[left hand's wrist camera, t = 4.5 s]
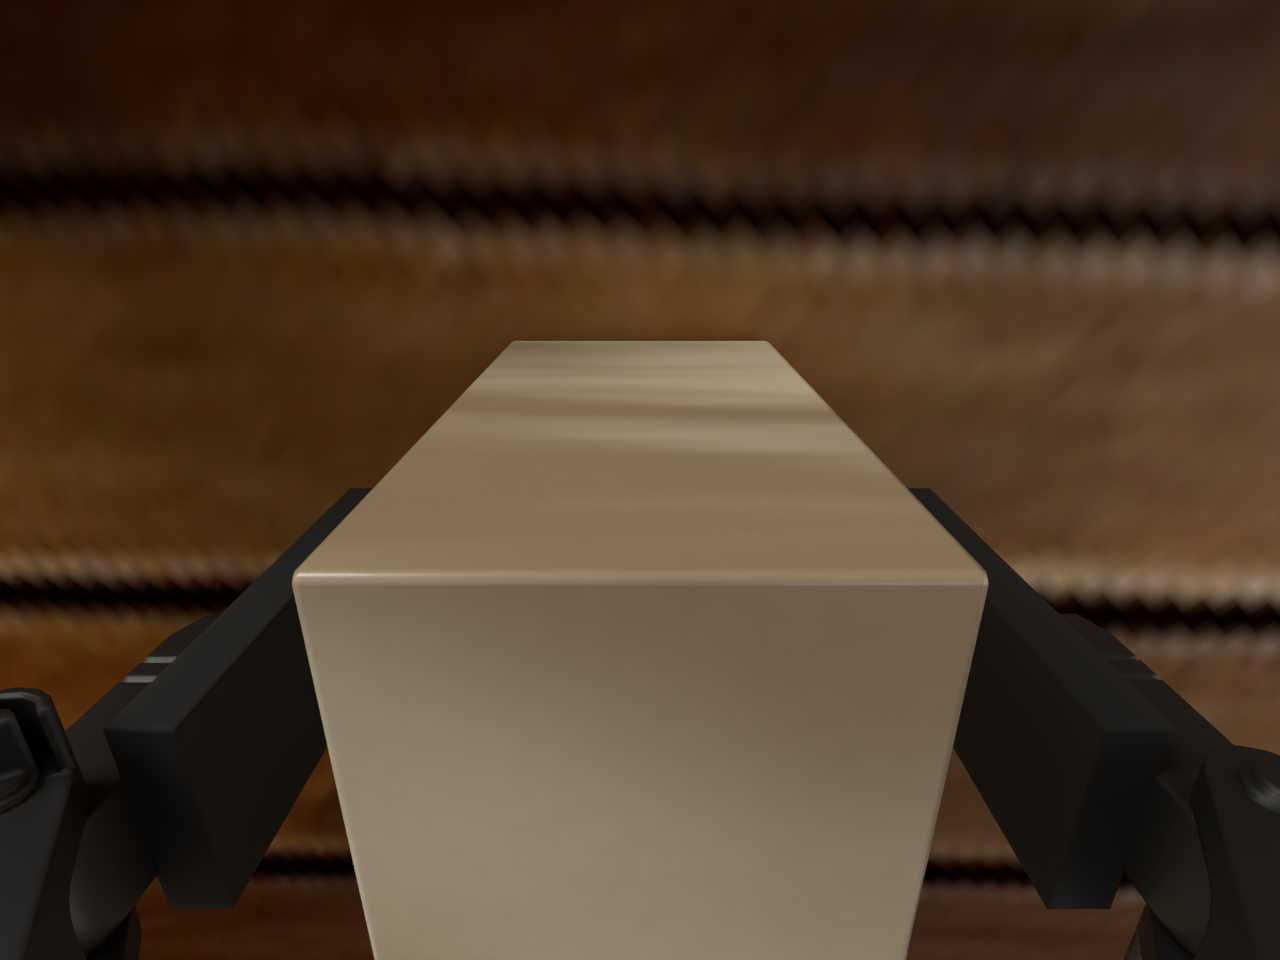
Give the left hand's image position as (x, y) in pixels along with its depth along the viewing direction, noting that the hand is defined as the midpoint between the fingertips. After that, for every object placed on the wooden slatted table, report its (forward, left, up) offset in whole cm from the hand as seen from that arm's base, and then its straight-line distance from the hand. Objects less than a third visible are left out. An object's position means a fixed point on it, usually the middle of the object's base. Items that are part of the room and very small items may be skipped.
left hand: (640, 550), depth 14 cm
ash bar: (0, +8, -1) cm, 9 cm away
